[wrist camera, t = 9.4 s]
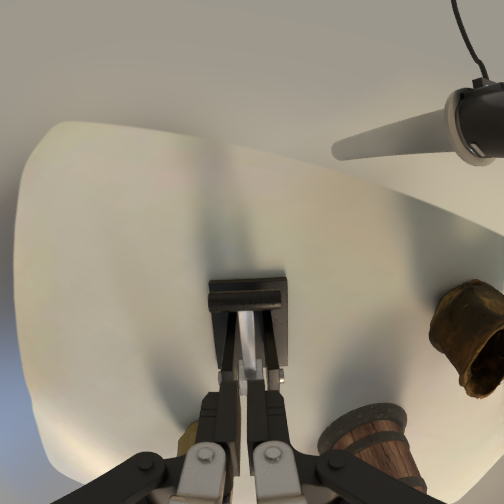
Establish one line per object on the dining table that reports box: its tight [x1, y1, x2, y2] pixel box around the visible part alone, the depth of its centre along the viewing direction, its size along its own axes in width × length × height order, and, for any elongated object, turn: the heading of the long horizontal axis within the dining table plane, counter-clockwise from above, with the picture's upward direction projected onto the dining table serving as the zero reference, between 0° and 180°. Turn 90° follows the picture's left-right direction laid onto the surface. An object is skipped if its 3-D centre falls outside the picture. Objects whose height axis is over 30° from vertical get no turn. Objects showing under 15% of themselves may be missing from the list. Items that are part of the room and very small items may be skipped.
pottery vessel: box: [429, 279, 504, 399], centre depth 28 cm, size 25×11×20 cm, turn 75°
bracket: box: [209, 277, 288, 393], centre depth 31 cm, size 12×9×13 cm
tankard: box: [317, 403, 427, 494], centre depth 35 cm, size 24×17×20 cm
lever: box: [208, 289, 282, 395], centre depth 24 cm, size 12×5×2 cm, turn 3°
